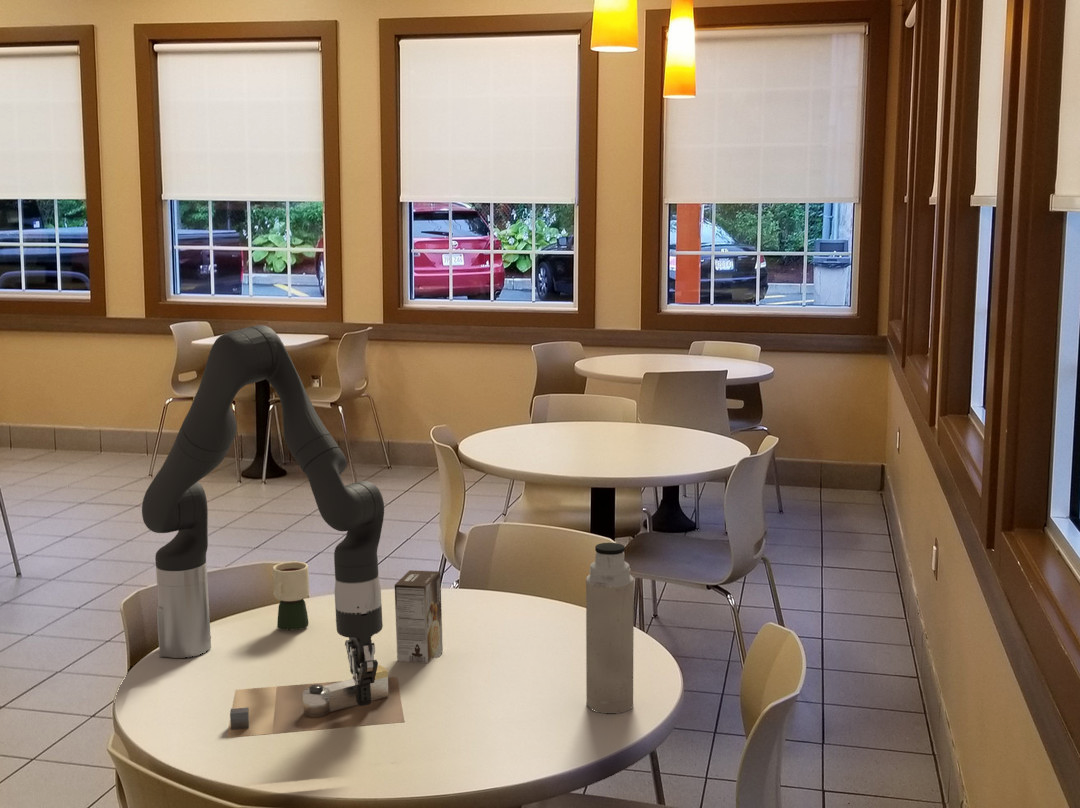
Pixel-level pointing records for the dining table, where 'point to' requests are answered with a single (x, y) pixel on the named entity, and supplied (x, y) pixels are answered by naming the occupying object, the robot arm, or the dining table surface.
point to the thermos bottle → (609, 631)
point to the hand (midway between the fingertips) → (363, 703)
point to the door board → (285, 714)
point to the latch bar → (340, 694)
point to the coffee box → (418, 616)
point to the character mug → (291, 594)
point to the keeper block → (239, 718)
